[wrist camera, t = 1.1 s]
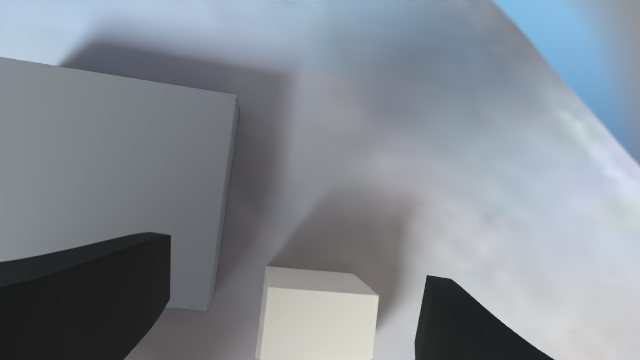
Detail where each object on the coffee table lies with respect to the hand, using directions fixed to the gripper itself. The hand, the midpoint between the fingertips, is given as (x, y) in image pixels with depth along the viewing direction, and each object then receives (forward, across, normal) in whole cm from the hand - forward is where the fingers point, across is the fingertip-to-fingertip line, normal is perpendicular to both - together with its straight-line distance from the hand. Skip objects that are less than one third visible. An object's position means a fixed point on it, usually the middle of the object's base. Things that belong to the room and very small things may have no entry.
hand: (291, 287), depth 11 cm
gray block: (+10, +11, +1) cm, 14 cm away
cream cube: (+10, +1, +7) cm, 13 cm away
